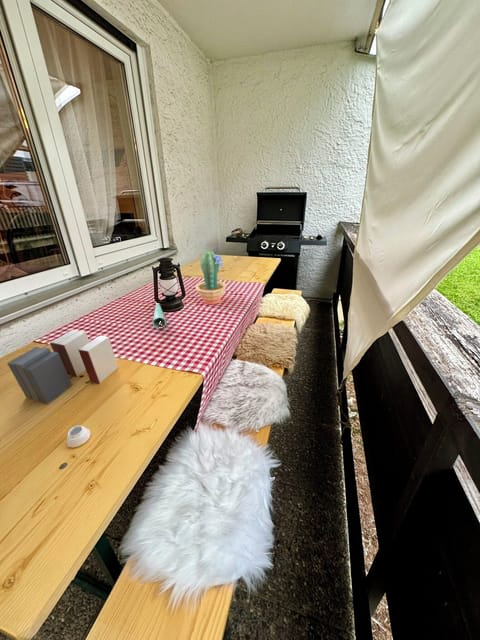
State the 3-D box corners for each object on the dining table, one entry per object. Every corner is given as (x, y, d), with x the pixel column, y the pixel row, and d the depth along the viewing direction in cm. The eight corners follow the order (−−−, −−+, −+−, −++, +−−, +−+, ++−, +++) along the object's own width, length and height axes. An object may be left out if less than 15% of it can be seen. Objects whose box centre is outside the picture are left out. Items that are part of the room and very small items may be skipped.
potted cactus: (209, 310, 123) (204, 257, 111) (191, 300, 133) (185, 252, 121) (233, 300, 132) (231, 251, 120) (214, 292, 142) (211, 246, 130)
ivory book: (90, 381, 80) (78, 349, 74) (110, 365, 86) (100, 335, 81) (99, 384, 79) (87, 351, 73) (118, 367, 86) (108, 336, 80)
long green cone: (161, 293, 128) (165, 316, 106) (163, 303, 131) (167, 328, 108) (150, 294, 127) (151, 318, 104) (152, 304, 129) (153, 330, 107)
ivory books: (63, 373, 83) (49, 342, 78) (84, 359, 90) (72, 329, 84) (76, 377, 82) (63, 345, 76) (96, 361, 89) (86, 331, 83)
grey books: (26, 397, 74) (6, 361, 68) (51, 379, 81) (35, 345, 75) (47, 404, 72) (28, 367, 66) (72, 385, 78) (57, 349, 72)
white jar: (77, 428, 64) (62, 446, 60) (73, 420, 63) (57, 438, 59) (95, 431, 63) (81, 450, 59) (92, 423, 62) (77, 441, 58)
